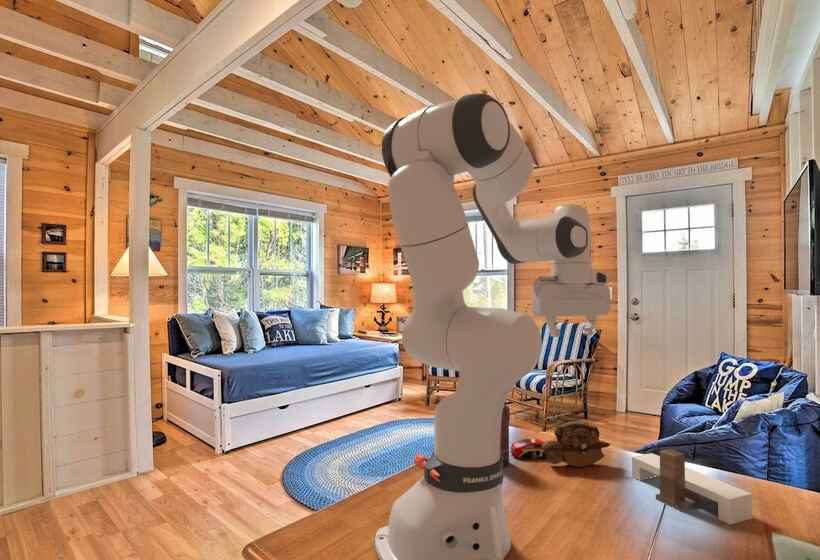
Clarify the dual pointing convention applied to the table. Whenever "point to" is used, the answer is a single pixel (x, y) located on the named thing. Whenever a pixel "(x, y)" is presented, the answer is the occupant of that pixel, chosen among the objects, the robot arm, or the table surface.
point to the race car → (528, 449)
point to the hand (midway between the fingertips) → (571, 335)
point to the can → (505, 435)
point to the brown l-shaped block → (676, 483)
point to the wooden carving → (575, 445)
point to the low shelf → (702, 489)
